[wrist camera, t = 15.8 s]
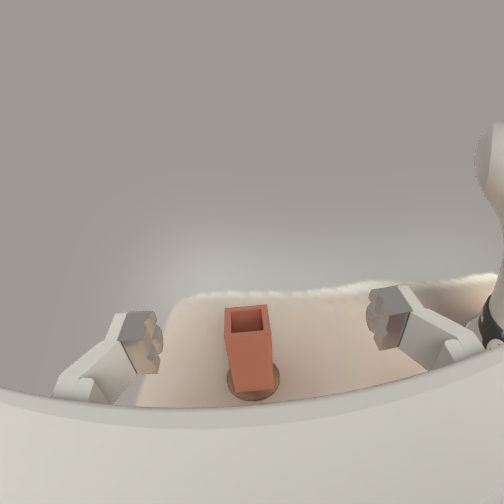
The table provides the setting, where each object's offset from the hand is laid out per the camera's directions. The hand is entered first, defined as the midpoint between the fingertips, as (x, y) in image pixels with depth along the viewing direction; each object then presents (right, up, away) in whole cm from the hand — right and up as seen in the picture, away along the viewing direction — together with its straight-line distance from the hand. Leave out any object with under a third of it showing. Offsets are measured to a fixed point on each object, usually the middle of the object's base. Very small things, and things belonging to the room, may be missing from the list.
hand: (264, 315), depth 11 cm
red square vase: (0, -17, +33) cm, 37 cm away
